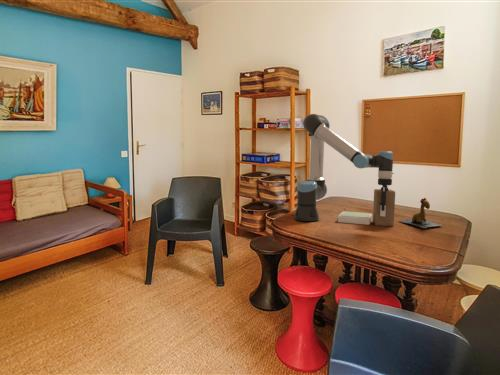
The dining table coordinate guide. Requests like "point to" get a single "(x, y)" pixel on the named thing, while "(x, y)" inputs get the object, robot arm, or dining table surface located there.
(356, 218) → the picture frame
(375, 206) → the wooden block
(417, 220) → the stuffed giraffe
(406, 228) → the dining table surface
